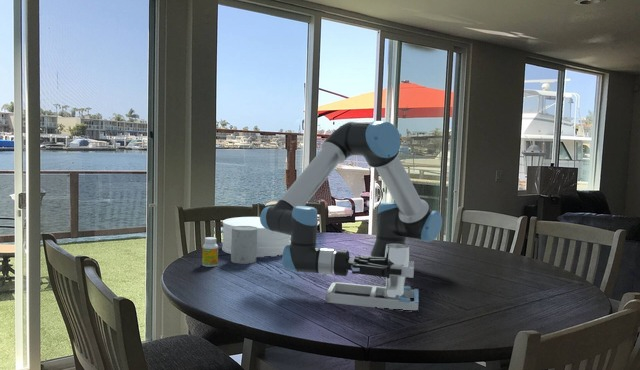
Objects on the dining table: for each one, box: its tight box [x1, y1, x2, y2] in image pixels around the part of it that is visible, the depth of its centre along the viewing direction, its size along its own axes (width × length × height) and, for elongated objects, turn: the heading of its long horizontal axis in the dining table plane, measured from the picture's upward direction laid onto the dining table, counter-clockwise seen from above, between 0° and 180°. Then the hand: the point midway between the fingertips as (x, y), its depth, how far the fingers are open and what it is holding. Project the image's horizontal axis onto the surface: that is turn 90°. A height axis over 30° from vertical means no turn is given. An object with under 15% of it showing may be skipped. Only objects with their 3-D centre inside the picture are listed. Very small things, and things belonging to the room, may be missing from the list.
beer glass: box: [383, 244, 410, 300], centre depth 148 cm, size 7×7×15 cm
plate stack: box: [221, 216, 291, 258], centre depth 210 cm, size 28×28×12 cm
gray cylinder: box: [230, 226, 258, 265], centre depth 189 cm, size 10×10×12 cm
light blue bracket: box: [399, 285, 420, 305], centre depth 147 cm, size 5×13×3 cm, turn 169°
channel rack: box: [324, 281, 419, 311], centre depth 149 cm, size 26×13×2 cm, turn 79°
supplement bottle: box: [201, 236, 219, 268], centre depth 180 cm, size 5×5×10 cm
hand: (413, 269), depth 147 cm, fingers closed on beer glass, 7 cm apart
